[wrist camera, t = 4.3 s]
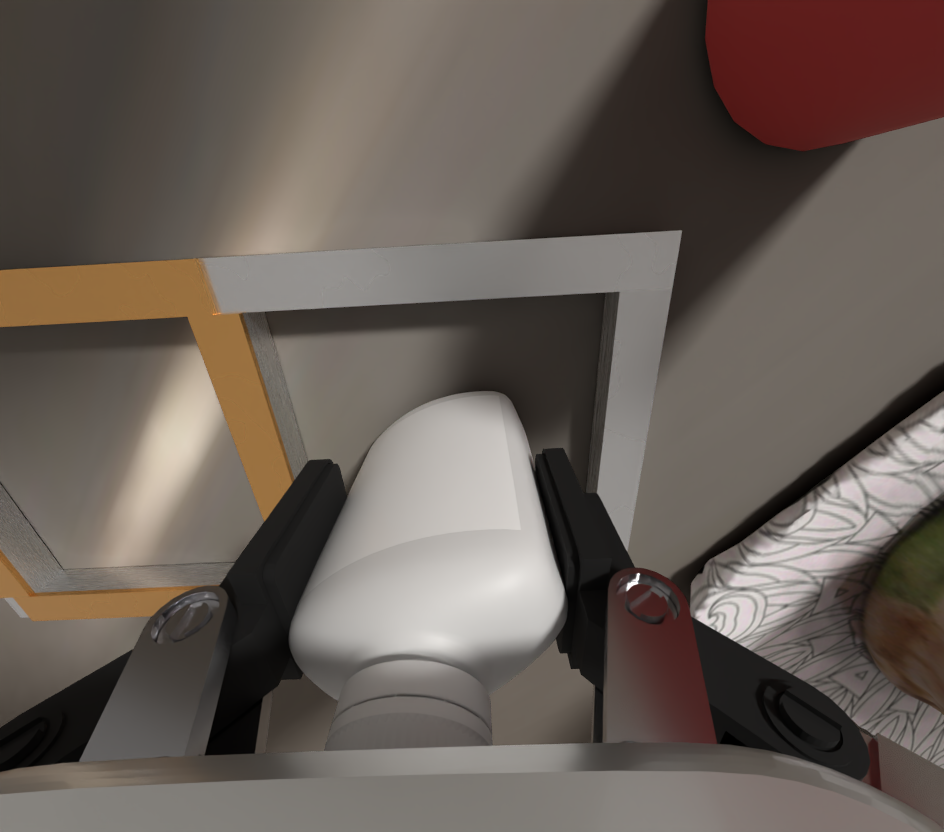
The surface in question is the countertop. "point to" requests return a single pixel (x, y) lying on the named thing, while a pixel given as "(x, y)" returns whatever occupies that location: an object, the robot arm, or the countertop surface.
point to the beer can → (826, 67)
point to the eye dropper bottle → (432, 580)
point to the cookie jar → (852, 586)
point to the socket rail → (264, 390)
